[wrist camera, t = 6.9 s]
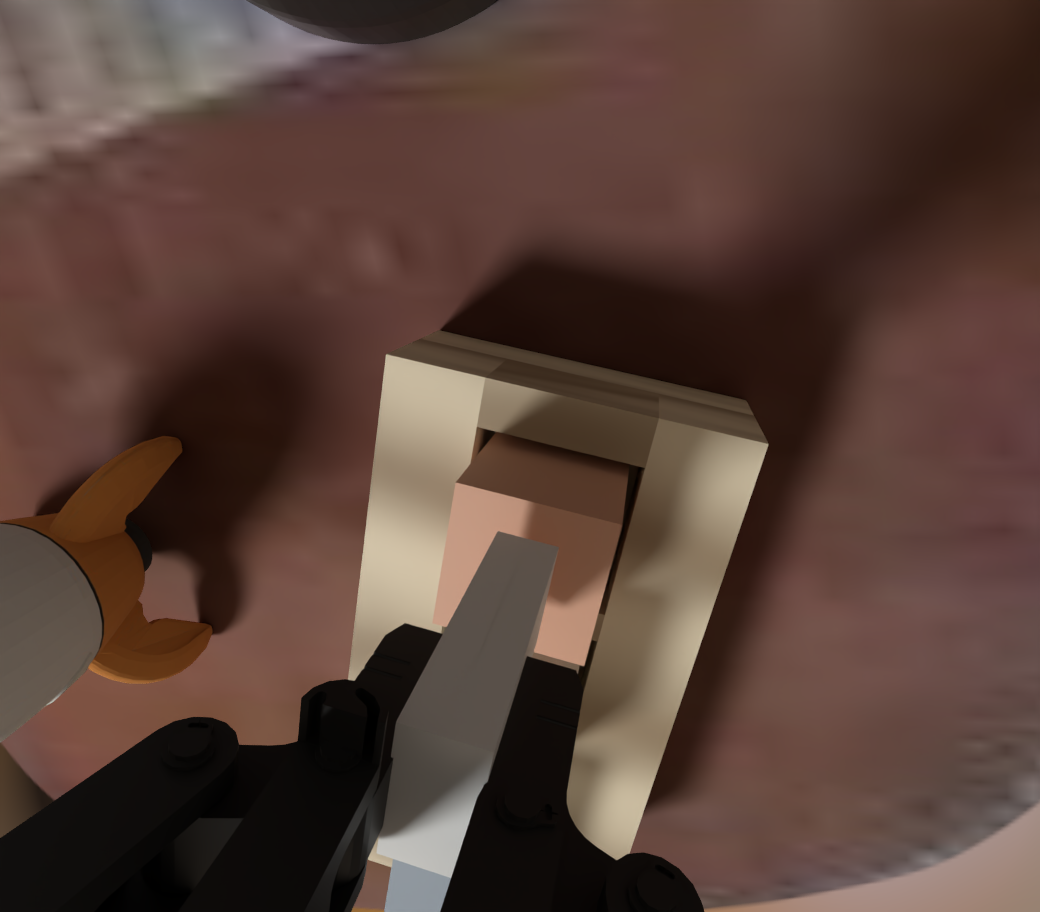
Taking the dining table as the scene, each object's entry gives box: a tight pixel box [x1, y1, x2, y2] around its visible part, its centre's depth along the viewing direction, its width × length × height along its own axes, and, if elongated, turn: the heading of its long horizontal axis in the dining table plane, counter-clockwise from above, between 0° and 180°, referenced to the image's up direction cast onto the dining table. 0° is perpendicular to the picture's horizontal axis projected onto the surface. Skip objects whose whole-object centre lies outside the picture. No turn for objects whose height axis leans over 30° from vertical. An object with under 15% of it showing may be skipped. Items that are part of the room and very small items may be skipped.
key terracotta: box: [432, 432, 630, 666], centre depth 19 cm, size 4×4×5 cm
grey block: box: [384, 859, 451, 912], centre depth 23 cm, size 4×4×5 cm
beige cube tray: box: [348, 330, 769, 867], centre depth 24 cm, size 20×11×5 cm, turn 169°
